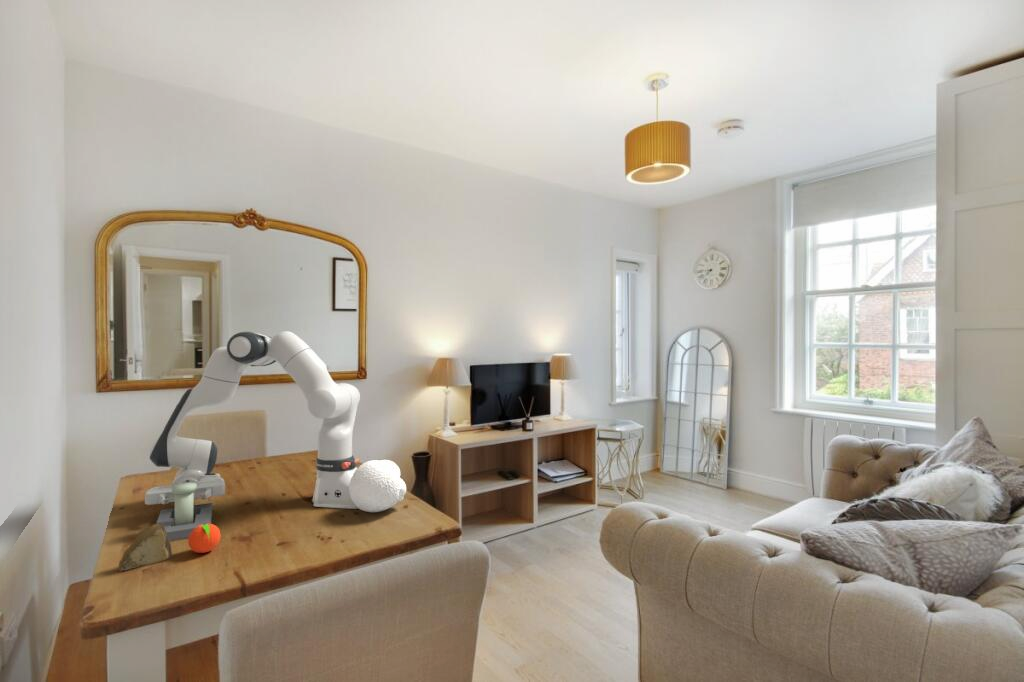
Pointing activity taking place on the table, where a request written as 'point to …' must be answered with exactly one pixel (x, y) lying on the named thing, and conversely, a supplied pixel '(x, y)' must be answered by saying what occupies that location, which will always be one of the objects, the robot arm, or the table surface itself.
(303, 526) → the table surface
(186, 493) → the sage post
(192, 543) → the clementine
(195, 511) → the keyhole board
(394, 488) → the white lumpy blob
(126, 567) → the rock
